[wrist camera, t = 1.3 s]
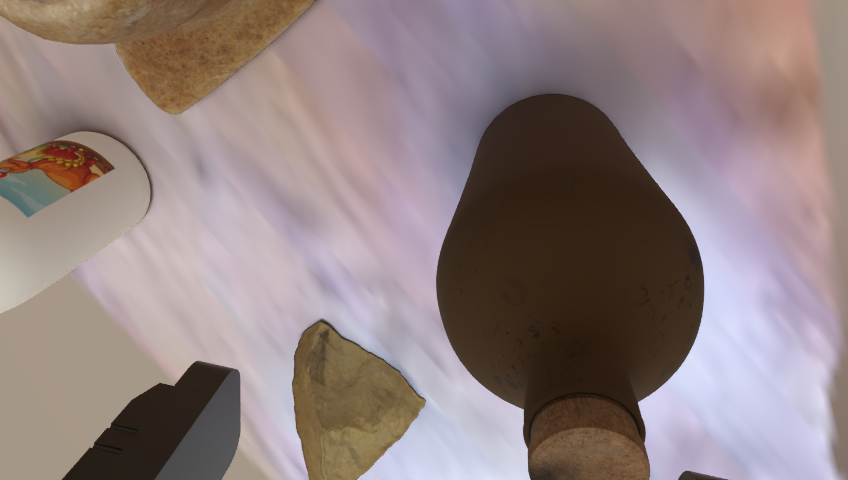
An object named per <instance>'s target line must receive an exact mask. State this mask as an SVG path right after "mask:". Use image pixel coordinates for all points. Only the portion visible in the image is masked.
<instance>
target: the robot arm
mask: <svg viewBox="0 0 848 480" xmlns="http://www.w3.org/2000/svg"><path fill="white" fill-rule="evenodd" d="M239 437H240V373H239V371H238V370H237V369H233V368H228V367H224V366H219V365H215V364H210V363H206V362H201V361H196V362H194V363H193V364H192V365H191V366H190V367H189V368H188V369H187V371H186V372H185V373H184V374H183V376H182V377H181V378H180V379H179V381H178V382H177V383H176V384H175V386H171V385H167V384H162V383H159V384H157V385H156V386H154V387H152V388H151V389H149V390H147V391H146V392H144V393H143V394H141V395H139V396H138V397H136V398H134V399H133V400H131V402H130V403H129V404H128V405H127V406H126V407H125V409H123V410H122V412H121V413H120V414H119V415H118V416H117V417H116V419H115V420H114V421H113V422H112V423H111V427H110V428H107V429H106V430H105V431H104V432H103V433H102V434H101V436H100V437H99V438H98V439H97V440H96V441H95V442H94V446H93V448H89V449H88V451H87V452H86V453H85V454H84V455H83V456H82V457H81V458H80V460H79V461H78V462H77V463H76V464H75V465H74V467H73V468H72V469H71V470H70V471H69V472H68V473H67V474H66V476H65V477H64V478H63V479H62V480H222V478H223V476H224V474H225V473H226V471H227V469H228V467H229V466H230V464H231V462H232V459H233V457H234V455H235V452H236V449H237V446H238V442H239ZM678 480H727V479H723V478H718V477H714V476H709V475H705V474H700V473H696V472H691V471H685V472H683V473H682V474H681V476H680V477H679V479H678Z"/></svg>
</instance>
